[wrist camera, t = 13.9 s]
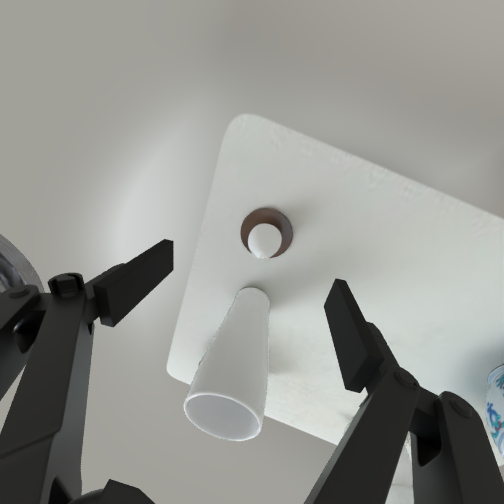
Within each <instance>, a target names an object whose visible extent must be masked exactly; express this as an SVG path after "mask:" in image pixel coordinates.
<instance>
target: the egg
mask: <svg viewBox="0 0 504 504" xmlns="http://www.w3.org/2000/svg"><path fill="white" fill-rule="evenodd" d="M281 241H282V237H281V233H280V231H279V230H278V229H277V228H276V227H274V226H273V225H270V224H259V225H257V226H255V227H254V228H253V229H252V231H251V232H250V234H249V237H248V246H249V249H250V251H251V252H252V254H253V255H254V256H256V257H257V258H260V259H266V258H269V257H271V256H273V255H274V254H275V253H276V252H277V251H278V249H279V248H280V245H281Z"/></svg>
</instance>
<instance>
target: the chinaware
mask: <svg viewBox="0 0 504 504" xmlns="http://www.w3.org/2000/svg"><path fill="white" fill-rule="evenodd" d="M488 383H489V385H490V387H489V389H488V391H487V394H486V398H485V416H486V420H487V424H488V427H489V430H490V432H491V435H492V437H493V439H494V442H495V444H496V446H497V448H498V449H499V451H500V453H501V455H502V457H503V458H504V365H502V366H500V367H498V368H496V369H495V370H494V371H492V372H491V374H490V375H489V378H488Z"/></svg>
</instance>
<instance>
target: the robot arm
mask: <svg viewBox="0 0 504 504" xmlns="http://www.w3.org/2000/svg"><path fill="white" fill-rule="evenodd" d="M172 271H173V241H171V240H166V239H164V240H162V241H161V242H159V243H157V244H156V245H154V246H153V247H151V248H150V249H148V250H146V251H145V252H143V253H142V254H140V255H139V256H137V257H135V258H134V259H132V260H131V261H129V262H128V263H126V264H124V263H122V264H119V265H116V266H113V267H112V268H110V269H108V270H107V271H105V272H103V273H102V274H101V275H98V276H97V277H95V278H94V279H92V280H90V281H89V282H87V283H85V284H84V281H83V277H82V275H81V274H79V273H65V274H60V275H57V276H55V277H53V278H51V279H50V280H49V281H48V285H49V288H50V291H51V293H40V292H39V289H38V287H37V286H35V285H30V284H27V285H19V286H15V287H11V285H10V283H9V281H8V279H7V278H6V277H5V275H4V274H3V273H2V271H1V270H0V401H1V399H2V398H3V396H4V395H5V393H6V392H7V391H8V389H9V388H10V386H11V385H12V383H13V382H14V380H15V379H16V378H17V376H18V375H19V373H20V372H21V371H22V369H23V368H24V366H25V365H26V367H25V369H24V372H23V375H22V377H21V380H20V383H19V386H18V388H17V391H16V393H15V396H14V399H13V401H12V404H11V407H10V410H9V412H8V415H7V418H6V420H5V423H4V426H3V428H2V431H1V434H0V504H155V503H154V502H153V501H152V500H151V499H150V498H148V497H147V496H146V495H145V494H144V493H143V492H142V491H141V490H140V489H138V488H136V487H133V486H129V485H126V484H123V483H120V482H117V481H114V480H111V479H109V481H108V482H107V484H106V486H105V488H104V489H99V490H95V491H91V492H89V493H87V494H84V495H82V496H81V492H82V480H81V471H80V470H81V468H80V467H81V466H80V465H81V454H82V444H83V435H84V425H85V415H86V405H87V394H88V385H89V375H90V365H91V355H92V345H93V335H94V322H93V321H94V320H96V319H97V318H98V317H100V321H101V324H103V325H106V326H111V327H114V326H115V325H116V324H117V323H119V322H120V321H121V320H122V319H123V318H124V317H125V316H126V315H127V314H128V313H129V312H130V311H131V310H132V309H133V308H134V307H135V306H136V305H137V304H138V303H139V302H140V301H141V300H142V299H143V298H145V297H146V296H147V295H148V294H149V293H150V292H151V291H152V290H153V289H154V288H155V287H156V286H157V285H158V284H159V283H160V282H161V281H162V280H163V279H164V278H165V277H167V276H168V275H169V274H170V273H171V272H172ZM324 309H325V313H326V316H327V320H328V324H329V328H330V332H331V336H332V340H333V343H334V347H335V351H336V355H337V359H338V363H339V367H340V370H341V374H342V378H343V382H344V386H345V389H346V390H350V391H354V392H357V393H361V391H362V390H363V389H364V387H366V390H367V393H368V395H367V397H366V398H365V399H364V401H363V402H362V403H361V405H360V406H359V407H360V408H359V410H358V412H357V413H356V415H355V417H354V419H353V420H352V422H351V424H350V425H349V427H348V429H347V431H346V432H345V434H344V436H343V437H342V439H341V441H340V443H339V444H338V446H337V448H336V449H335V451H334V453H333V454H332V456H331V458H330V460H329V461H328V463H327V465H326V466H325V468H324V470H323V472H322V473H321V475H320V477H319V478H318V480H317V482H316V484H315V485H314V487H313V489H312V491H311V492H310V494H309V496H308V497H307V499H306V501H305V502H304V504H385V502H386V499H387V496H388V493H389V490H390V487H391V484H392V480H393V477H394V474H395V471H396V468H397V465H398V462H399V458H400V455H401V452H402V449H403V446H404V443H405V439H406V436H407V433H408V431H409V432H410V435H411V455H412V476H413V496H414V504H504V482H503V479H502V476H501V473H500V471H499V468H498V465H497V462H496V459H495V456H494V453H493V451H492V448H491V445H490V442H489V439H488V436H487V434H486V431H485V428H484V425H483V422H482V420H481V418H480V416H479V414H478V413H477V412H476V410H475V409H474V408H473V407H472V406H471V405H470V404H469V403H468V402H467V401H465V400H464V399H463V398H461V397H460V396H458V395H456V394H454V393H452V392H448V391H444V392H442V393H441V394H440V395H439V396H438V395H436V394H434V393H432V392H430V391H428V390H426V389H424V388H422V387H420V385H419V383H418V381H417V380H416V379H415V378H414V376H413V375H411V374H410V373H409V372H408V371H406V370H405V369H403V368H401V367H400V366H399V364H398V363H397V361H396V359H395V357H394V355H393V354H392V352H391V350H390V348H389V346H388V345H387V343H386V341H385V339H384V337H383V335H382V334H381V332H380V330H379V329H378V328H377V327H376V326H375V325H374V324H373V323H370V322H366V320H365V318H364V316H363V314H362V312H361V310H360V308H359V306H358V304H357V302H356V300H355V298H354V296H353V294H352V292H351V290H350V288H349V286H348V284H347V282H346V281H345V280H341V279H335V281H334V283H333V286H332V288H331V290H330V293H329V295H328V297H327V299H326V302H325V304H324Z"/></svg>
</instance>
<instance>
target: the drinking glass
mask: <svg viewBox="0 0 504 504" xmlns="http://www.w3.org/2000/svg"><path fill="white" fill-rule="evenodd" d="M269 313H270V300H269V298H268V296H267V295H266V294H265V293H264V292H263V291H261V290H259V289H257V288H244V289H242V290H240V291H239V292H238V293H237V294H236V296H235V298H234V300H233V303H232V305H231V307H230V309H229V310H228V312H227V314H226V316H225V318H224V320H223V321H222V323H221V325H220V327H219V329H218V331H217V332H216V334H215V336H214V338H213V340H212V341H211V343H210V345H209V347H208V349H207V350H206V352H205V354H204V356H203V358H202V360H201V362H200V365H199V367H198V369H197V371H196V374H195V376H194V378H193V381H192V383H191V386H190V389H189V391H188V394H187V396H186V399H185V401H184V412H185V414H186V416H187V418H188V419H189V420H190V421H191V422H192V423H193V424H194V425H195V426H196V427H197V428H199V429H200V430H202V431H204V432H206V433H208V434H210V435H212V436H215V437H218V438H221V439H225V440H231V441H243V440H249V439H252V438H254V437H256V436H257V435H258V434H259V433H260V431H261V429H262V425H263V417H264V411H265V404H266V396H267V386H268V366H269Z"/></svg>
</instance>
